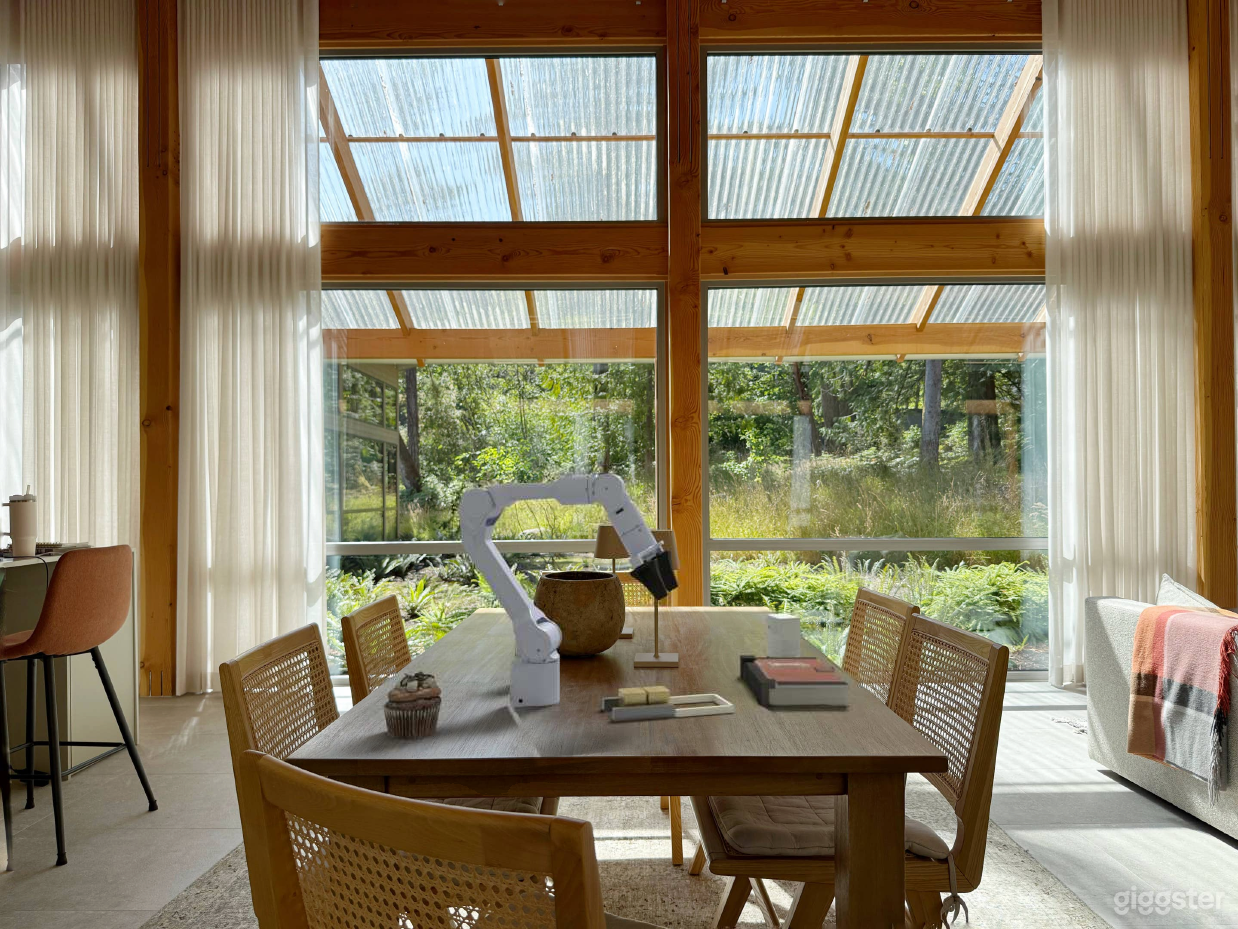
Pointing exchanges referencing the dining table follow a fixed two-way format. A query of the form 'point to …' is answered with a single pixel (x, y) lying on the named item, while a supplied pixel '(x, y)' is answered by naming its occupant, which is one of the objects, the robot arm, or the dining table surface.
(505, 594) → the robot arm
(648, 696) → the brass chip
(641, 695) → the brass chip
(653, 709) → the rail
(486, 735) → the dining table surface
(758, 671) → the book
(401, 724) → the cupcake
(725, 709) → the tray
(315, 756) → the dining table surface
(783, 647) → the small box
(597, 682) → the dining table surface
